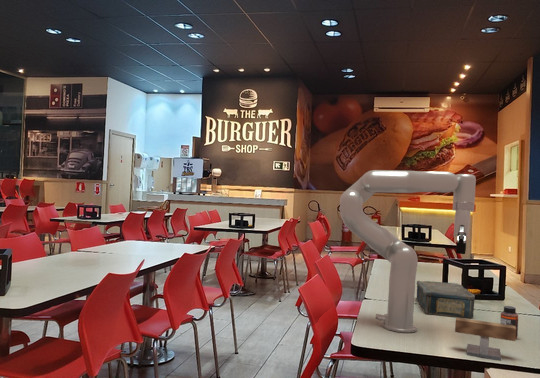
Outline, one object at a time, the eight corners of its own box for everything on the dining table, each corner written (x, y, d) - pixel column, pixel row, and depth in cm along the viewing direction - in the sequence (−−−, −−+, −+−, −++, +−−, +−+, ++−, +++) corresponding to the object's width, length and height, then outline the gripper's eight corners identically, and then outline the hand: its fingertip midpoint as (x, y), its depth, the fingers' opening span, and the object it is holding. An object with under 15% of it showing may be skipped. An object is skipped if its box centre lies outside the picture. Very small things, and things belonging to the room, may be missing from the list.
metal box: (423, 315, 211) (424, 291, 211) (414, 299, 243) (415, 279, 243) (475, 320, 207) (476, 296, 207) (459, 303, 239) (460, 283, 239)
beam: (454, 331, 163) (455, 319, 163) (455, 329, 166) (456, 317, 166) (515, 341, 156) (516, 328, 156) (514, 338, 159) (515, 325, 159)
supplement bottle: (512, 335, 185) (513, 305, 185) (520, 340, 179) (522, 309, 179) (496, 334, 185) (498, 304, 185) (504, 339, 179) (506, 308, 179)
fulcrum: (466, 354, 158) (467, 336, 158) (467, 346, 167) (468, 329, 167) (501, 360, 154) (502, 341, 154) (499, 351, 163) (500, 333, 163)
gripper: (453, 206, 193) (451, 249, 193) (451, 206, 177) (449, 253, 177) (474, 207, 190) (471, 251, 190) (474, 207, 174) (471, 255, 174)
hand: (460, 252), depth 184 cm, fingers open, 9 cm apart
